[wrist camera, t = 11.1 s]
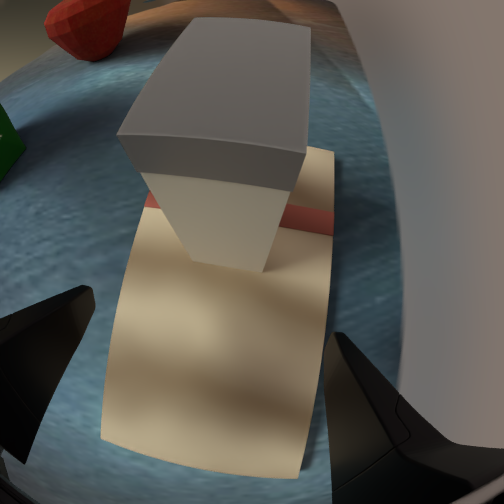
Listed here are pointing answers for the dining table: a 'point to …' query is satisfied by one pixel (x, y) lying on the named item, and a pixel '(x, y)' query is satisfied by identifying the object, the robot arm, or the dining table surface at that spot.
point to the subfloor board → (224, 342)
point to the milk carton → (8, 144)
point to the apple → (87, 26)
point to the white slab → (224, 135)
